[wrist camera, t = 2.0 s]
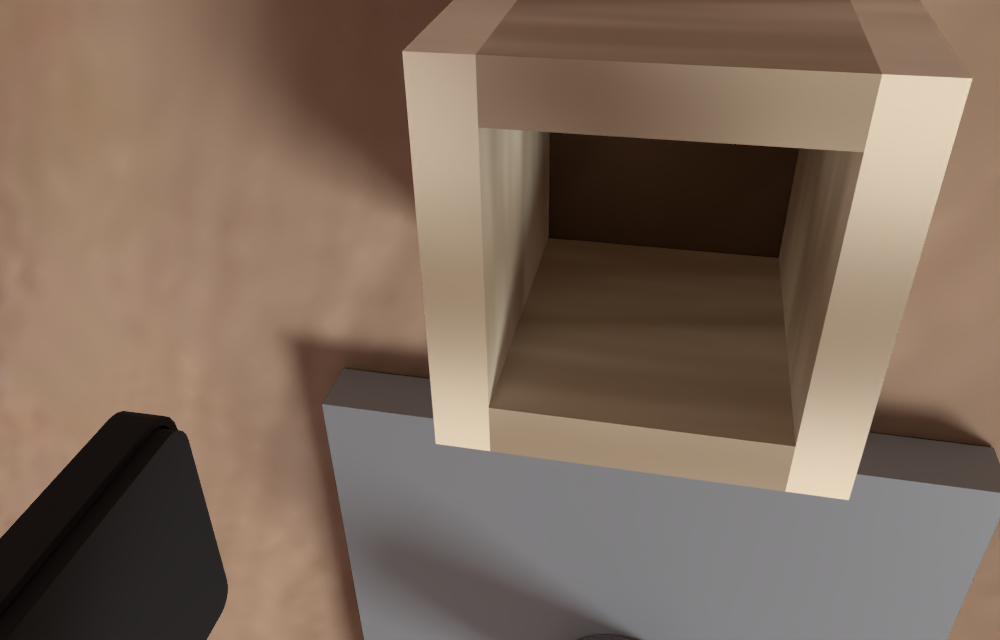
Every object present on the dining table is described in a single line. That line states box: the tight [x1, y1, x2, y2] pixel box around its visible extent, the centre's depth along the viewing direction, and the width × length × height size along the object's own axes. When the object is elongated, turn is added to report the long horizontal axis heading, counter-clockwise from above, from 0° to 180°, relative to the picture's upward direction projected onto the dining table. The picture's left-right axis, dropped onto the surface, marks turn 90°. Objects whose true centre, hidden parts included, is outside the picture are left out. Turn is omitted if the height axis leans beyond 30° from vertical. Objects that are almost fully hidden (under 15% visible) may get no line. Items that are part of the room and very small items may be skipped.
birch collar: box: [402, 0, 973, 500], centre depth 15 cm, size 7×7×6 cm
